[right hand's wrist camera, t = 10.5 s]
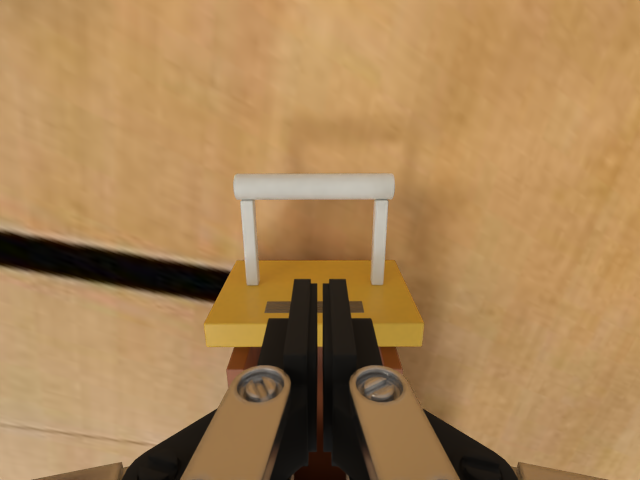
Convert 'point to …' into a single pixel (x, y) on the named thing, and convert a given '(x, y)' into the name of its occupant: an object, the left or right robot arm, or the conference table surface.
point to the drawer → (278, 278)
